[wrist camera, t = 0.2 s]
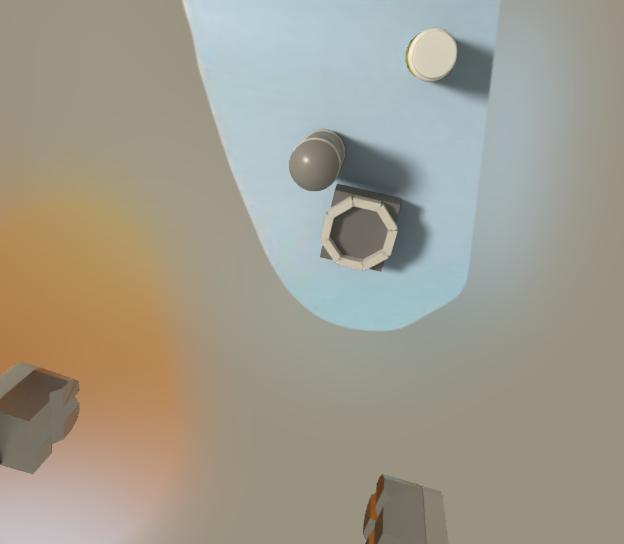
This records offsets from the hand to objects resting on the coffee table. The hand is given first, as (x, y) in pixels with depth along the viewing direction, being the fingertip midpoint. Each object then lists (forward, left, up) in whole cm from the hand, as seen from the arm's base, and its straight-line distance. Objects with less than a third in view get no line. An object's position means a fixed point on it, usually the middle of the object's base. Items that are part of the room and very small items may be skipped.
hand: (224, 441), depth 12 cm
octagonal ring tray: (+10, +4, -48) cm, 49 cm away
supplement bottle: (-11, +6, -48) cm, 49 cm away
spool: (+2, -3, -48) cm, 48 cm away
